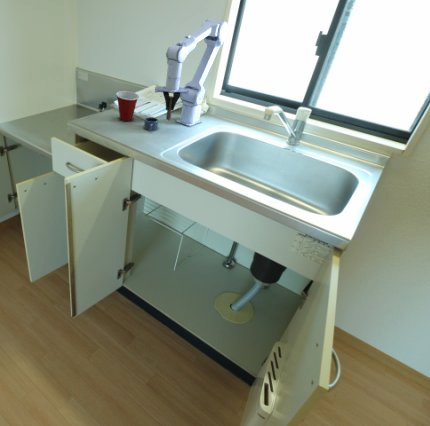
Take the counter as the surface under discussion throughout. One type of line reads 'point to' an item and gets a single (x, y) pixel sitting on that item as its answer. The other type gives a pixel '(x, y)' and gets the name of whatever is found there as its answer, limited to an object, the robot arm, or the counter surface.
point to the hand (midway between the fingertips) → (169, 109)
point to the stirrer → (169, 108)
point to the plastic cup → (126, 104)
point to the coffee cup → (151, 123)
